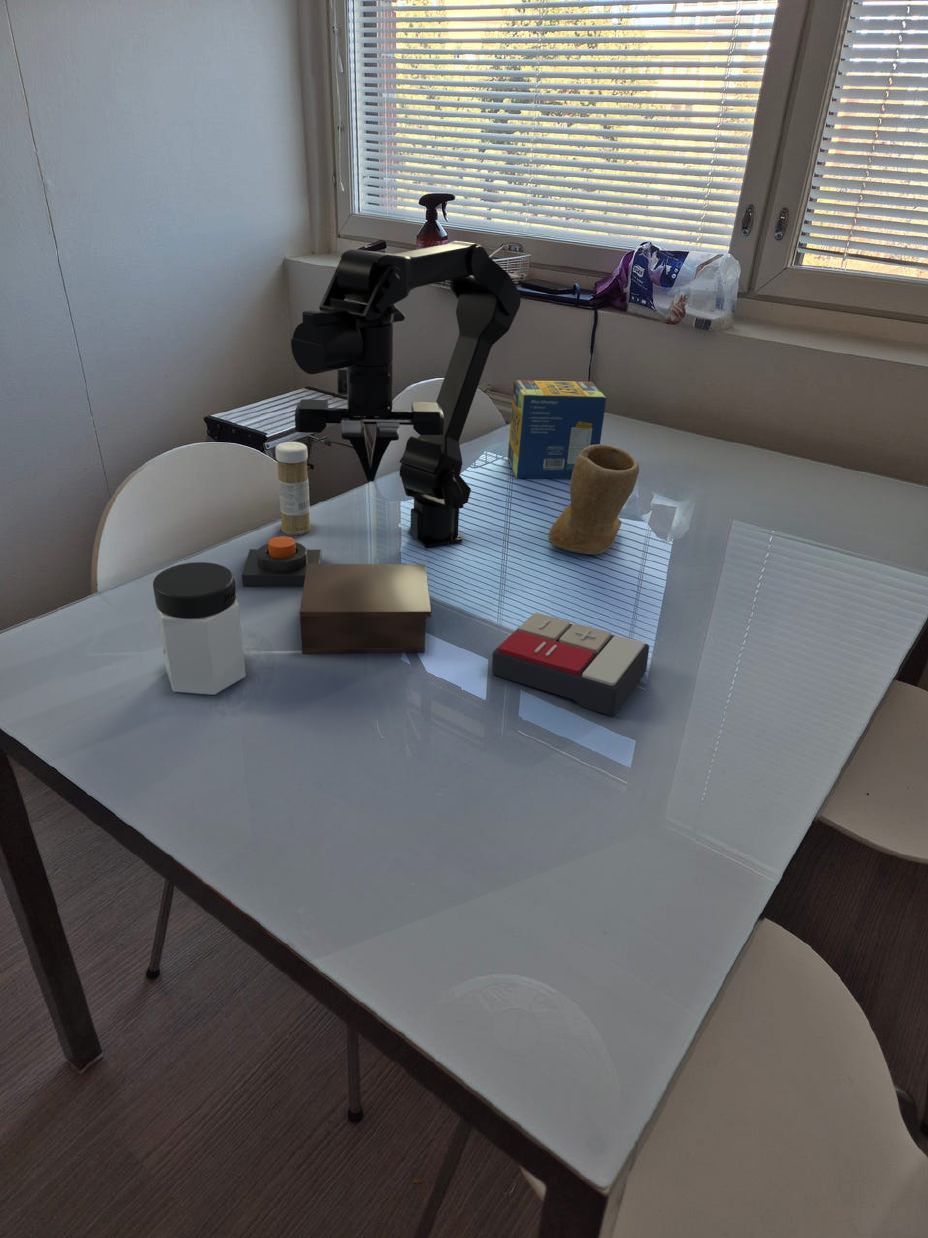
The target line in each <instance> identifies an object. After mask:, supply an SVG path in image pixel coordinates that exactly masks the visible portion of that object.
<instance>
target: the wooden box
mask: <svg viewBox="0 0 928 1238" xmlns="http://www.w3.org/2000/svg"><path fill="white" fill-rule="evenodd" d="M426 623H427V617H300V616H299V624H300V625H299V626H300V642H301V643H300V644H301V654H308V655H309V654H390V653H392V654H396V653H397V654H399V653H400V654H401V653H403V654H404V653H405V654H406V653H412V654H413V653H426Z"/></svg>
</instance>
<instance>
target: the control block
mask: <svg viewBox="0 0 928 1238" xmlns="http://www.w3.org/2000/svg"><path fill="white" fill-rule="evenodd" d="M295 548H296V553H295V555H294V556H291V557H287V558H275V557H271V556H270V555H269V550H268V543H265V544H264V545H262V546H260V547H258V548H255V549H254V548H251V549H249V550H248V553H247V556H246V559H245V562H244V566H243V570H242V572H241V584H242V588H303V587H304V581H305V574H306V568H307V564H323V557H322V555H323V554H322V553H323V552H322V549H308V548H307V547H306V546H304V545H303V544H302V543H299V542H295Z"/></svg>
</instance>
